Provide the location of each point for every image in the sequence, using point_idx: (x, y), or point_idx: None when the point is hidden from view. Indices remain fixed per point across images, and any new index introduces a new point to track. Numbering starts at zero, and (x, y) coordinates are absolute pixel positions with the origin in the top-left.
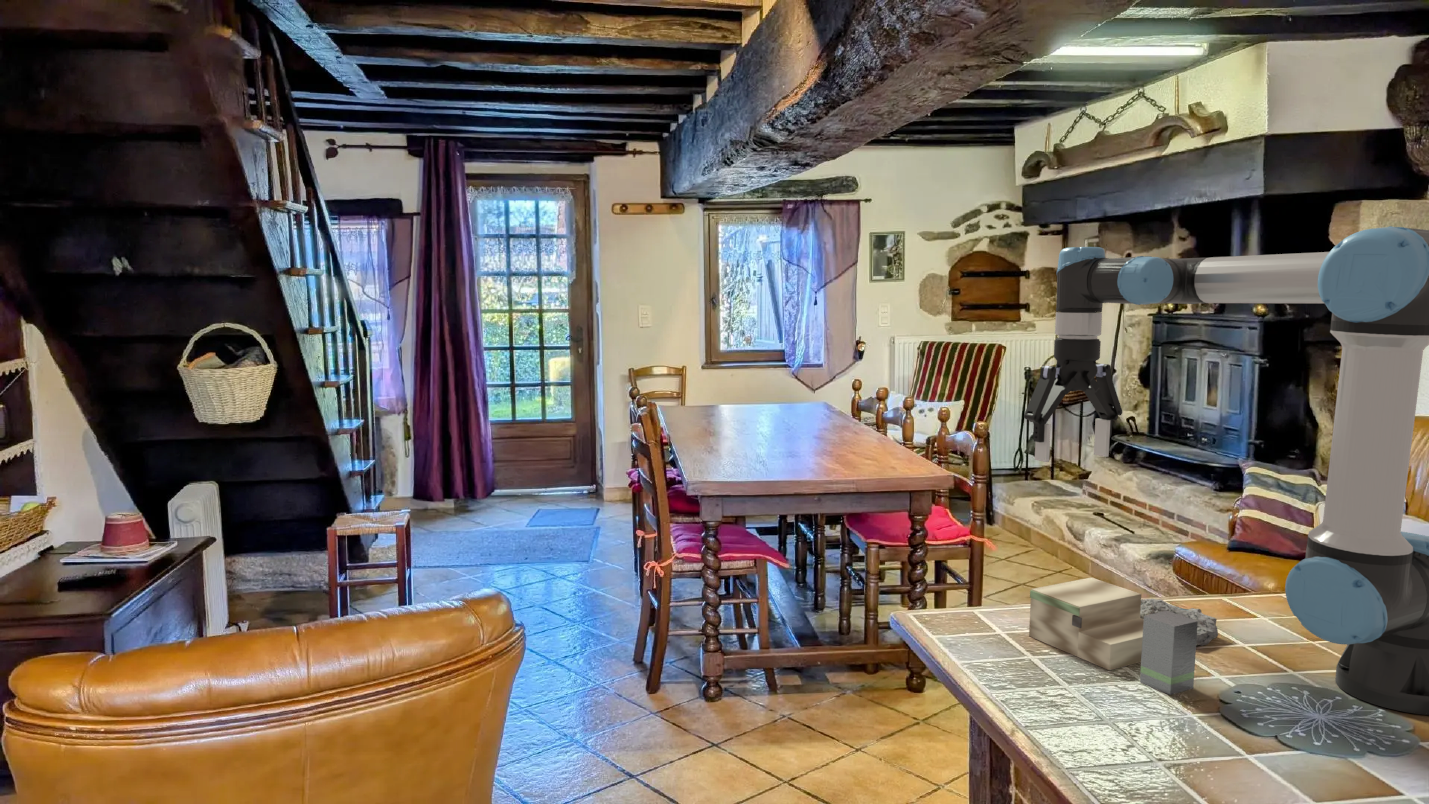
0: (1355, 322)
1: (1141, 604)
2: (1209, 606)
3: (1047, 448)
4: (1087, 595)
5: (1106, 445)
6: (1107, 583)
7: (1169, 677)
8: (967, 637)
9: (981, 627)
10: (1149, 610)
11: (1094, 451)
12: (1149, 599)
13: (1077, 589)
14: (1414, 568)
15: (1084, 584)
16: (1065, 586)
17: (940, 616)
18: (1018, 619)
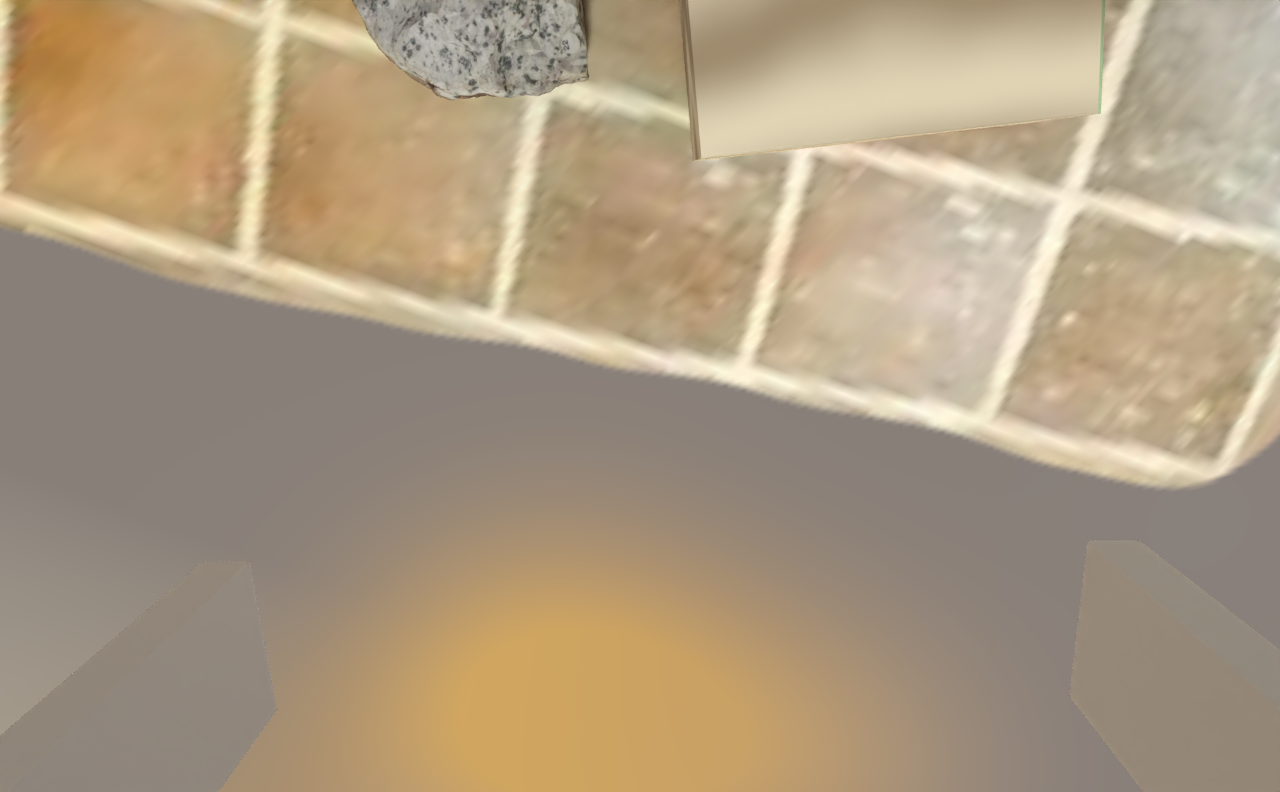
0: None
1: (508, 62)
2: (113, 137)
3: (1224, 625)
4: None
5: (166, 631)
6: (702, 48)
7: None
8: (1215, 199)
9: (1092, 266)
10: None
11: (258, 726)
12: (478, 39)
13: (905, 25)
14: None
15: (816, 76)
16: (922, 85)
17: (1139, 412)
18: (907, 286)
